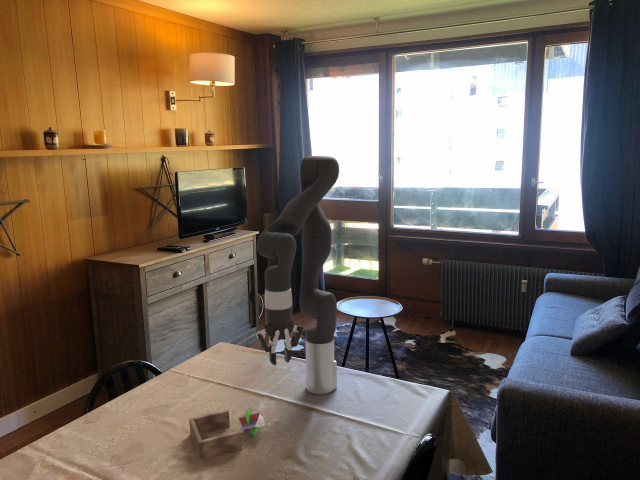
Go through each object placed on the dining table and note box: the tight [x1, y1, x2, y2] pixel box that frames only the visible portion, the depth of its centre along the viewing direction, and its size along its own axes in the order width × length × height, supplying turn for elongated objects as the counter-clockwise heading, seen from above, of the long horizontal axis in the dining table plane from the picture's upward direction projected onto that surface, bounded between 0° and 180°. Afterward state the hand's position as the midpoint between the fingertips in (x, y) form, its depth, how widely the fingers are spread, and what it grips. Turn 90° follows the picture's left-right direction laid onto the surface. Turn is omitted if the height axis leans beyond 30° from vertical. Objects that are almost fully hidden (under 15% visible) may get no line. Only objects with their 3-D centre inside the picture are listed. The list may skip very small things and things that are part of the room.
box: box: [188, 409, 242, 461], centre depth 140 cm, size 11×13×5 cm
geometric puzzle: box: [238, 407, 266, 437], centre depth 144 cm, size 7×7×8 cm
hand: (280, 362), depth 145 cm, fingers open, 3 cm apart
